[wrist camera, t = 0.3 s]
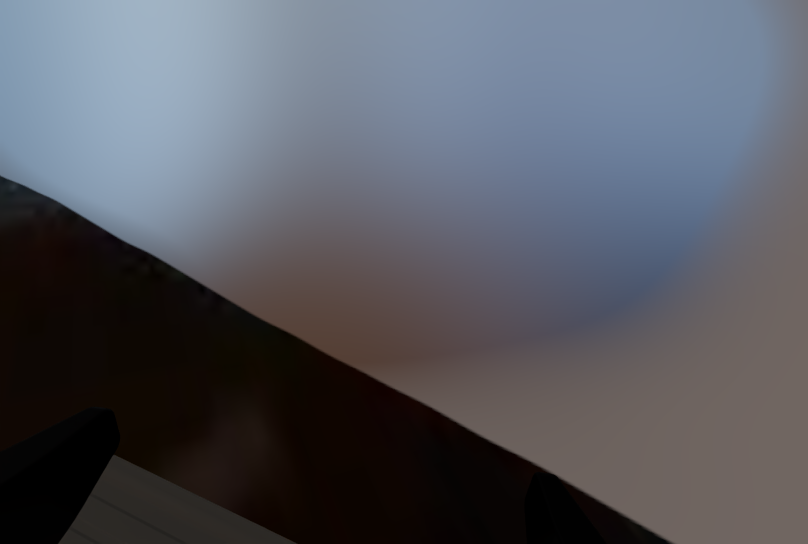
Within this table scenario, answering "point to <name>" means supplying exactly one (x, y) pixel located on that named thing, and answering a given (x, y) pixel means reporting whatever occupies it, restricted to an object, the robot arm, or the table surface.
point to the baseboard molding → (156, 514)
